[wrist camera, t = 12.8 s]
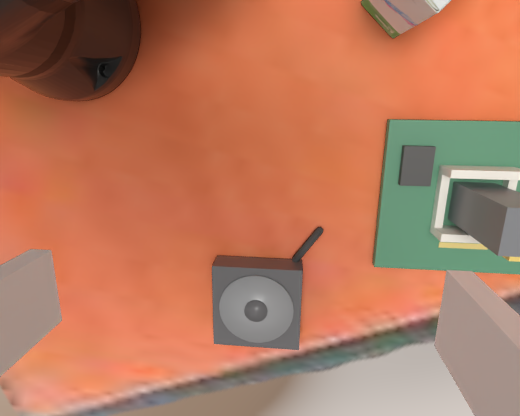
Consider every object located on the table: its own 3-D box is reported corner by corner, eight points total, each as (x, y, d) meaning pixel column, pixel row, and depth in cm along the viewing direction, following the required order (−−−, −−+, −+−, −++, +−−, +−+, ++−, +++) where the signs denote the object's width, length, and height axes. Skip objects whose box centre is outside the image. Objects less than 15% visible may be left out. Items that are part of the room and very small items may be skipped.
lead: (318, 224, 41) (319, 227, 40) (324, 228, 41) (324, 231, 40) (290, 258, 42) (290, 261, 42) (296, 262, 42) (296, 265, 42)
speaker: (217, 255, 43) (210, 268, 40) (302, 259, 42) (302, 273, 39) (219, 329, 46) (212, 347, 43) (298, 334, 45) (298, 353, 42)
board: (387, 119, 37) (397, 120, 34) (575, 122, 36) (609, 124, 32) (372, 263, 42) (380, 279, 38) (540, 271, 40) (565, 289, 36)
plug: (453, 181, 37) (507, 207, 28) (494, 182, 37) (563, 209, 27) (446, 224, 39) (496, 263, 29) (486, 225, 38) (549, 265, 29)
